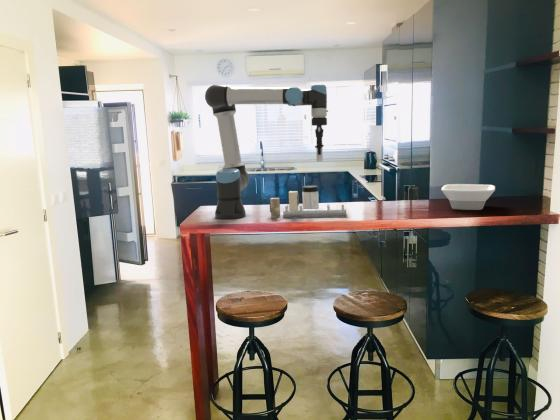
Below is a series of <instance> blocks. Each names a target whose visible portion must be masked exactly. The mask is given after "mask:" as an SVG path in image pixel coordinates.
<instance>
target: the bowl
mask: <svg viewBox="0 0 560 420" xmlns="http://www.w3.org/2000/svg"><path fill="white" fill-rule="evenodd" d="M440 190H441V192H442V193H443V195H445V197H446V198H447V199H448V200H449V204H450V206H451V208H452V209H453V210H462V211H465V210H466V211H481V210H483V209H484V206H485V204H486V201H487V200H489V198H490V197H491V196H492V194H494V192H495V191H496V185H493V184H478V183H477V184H473V183H469V184H468V183H452V184H451V183H449V184H444V185H443V186H442V187H441V189H440Z"/></svg>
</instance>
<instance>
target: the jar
mask: <svg viewBox="0 0 560 420" xmlns="http://www.w3.org/2000/svg"><path fill="white" fill-rule="evenodd" d="M301 188H302V193H301V194H302V209H320V205H319V204H320V203H319V187H318V185H304V186H303V185H302V187H301Z"/></svg>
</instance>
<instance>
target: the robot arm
mask: <svg viewBox="0 0 560 420" xmlns="http://www.w3.org/2000/svg"><path fill="white" fill-rule="evenodd" d="M327 93H328V92H327V86H326V85H325V84H313V85H311V87H310V89H301V88H299V87H298V86H291V87H232V86H231V85H222V84H221V85H220V84H212V85H210V86H209V87H207V89H206V91H205V94H204V98H205V101H206V104H207V105H208V106H209V107H210V108H212V115H213V116H214V117H216V121H217V125H218V131H219V136H220V143H221V150H222V155H223V161H224V165H223V167H222V169H219V170H217V171H216V174H215V175H216V176H215V182H216V195H217V204H216V206H215V207H216V208H215V212H214V217H215V219H219V220H220V219H221V220H231V219H232V220H234V219H235V220H236V219H240V218H244V217H246V210H245V207H244V204H243V201H242V193H241V192H242V191H245V189H246V188H247V187H248V186H249V183H250V177H249V173H248V172H247V169H246V165H245V164H244V163H243V162H242V158H241V152H240V145H239V140H238V134H237V127H236V122H235V114H236V112H237V109H236V105H288V107H296V106H297V107H299V106H311V112H310V113H311V114H310V116H311V117H312V118H311V126H315V127H316V129H314V131H315V132H314V133H315V138H316V145H314V148H315V149H316V162H321V163H322V162H323V148H324V144H323V137H324V129H323V126H327V125H328V118H327V116H328V112H329V110H328V106H327V105H328V104H327V103H328V101H327V100H328V97H327V96H328V94H327Z"/></svg>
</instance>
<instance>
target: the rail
mask: <svg viewBox="0 0 560 420" xmlns="http://www.w3.org/2000/svg"><path fill="white" fill-rule="evenodd" d="M299 199H300V195H299V192H298V190H294V191H293V190H289V191H288V204H285V206H284V208H285V209H283V214H282V219H309V218H312V219H313V218H314V219H315V218H316V219H319V218H322V219H323V218H325V219H326V218H347V216H348V215H347V208H345V203H341V208H330V203H327V204H326V208H319V209H303V204H300V201H299Z"/></svg>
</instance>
